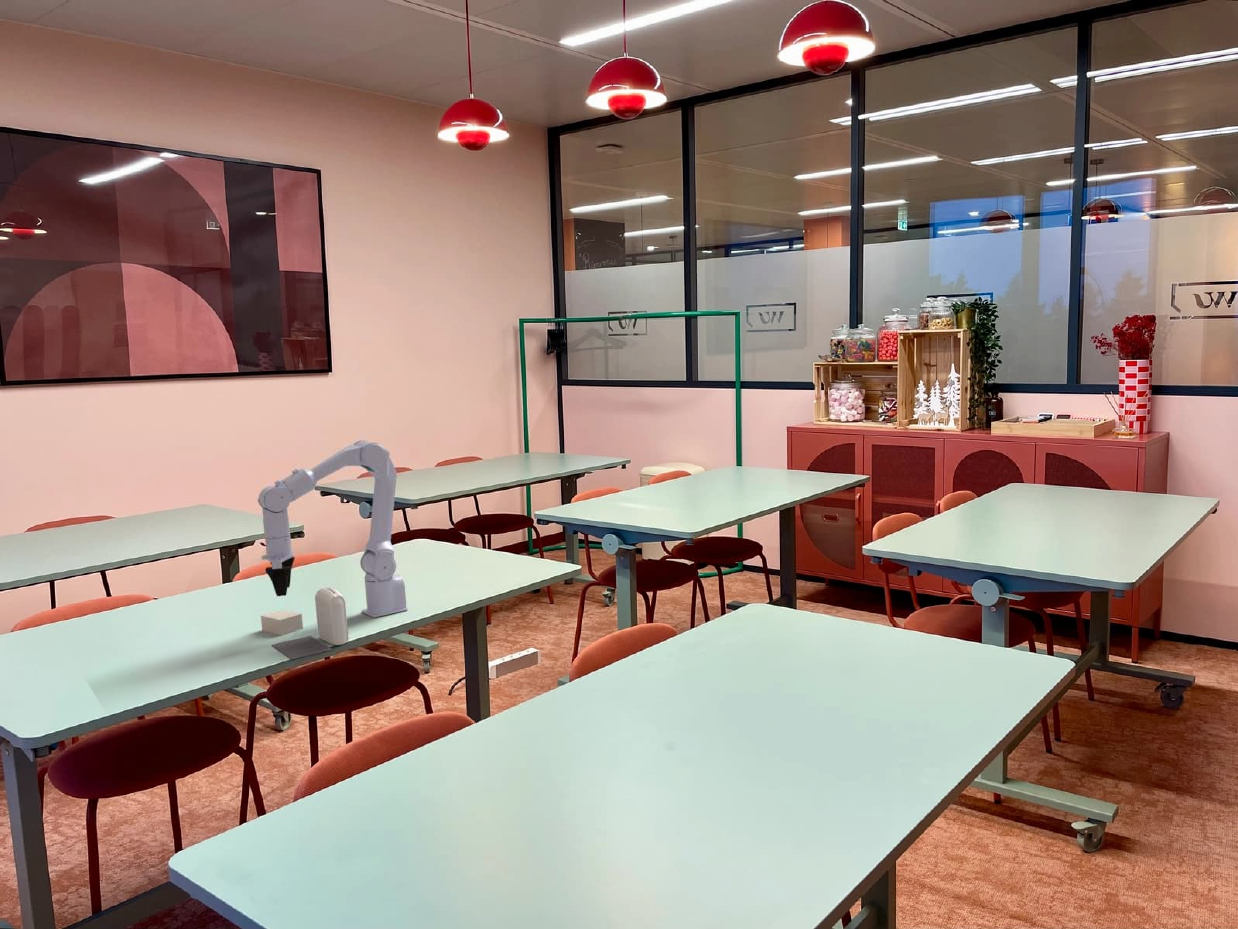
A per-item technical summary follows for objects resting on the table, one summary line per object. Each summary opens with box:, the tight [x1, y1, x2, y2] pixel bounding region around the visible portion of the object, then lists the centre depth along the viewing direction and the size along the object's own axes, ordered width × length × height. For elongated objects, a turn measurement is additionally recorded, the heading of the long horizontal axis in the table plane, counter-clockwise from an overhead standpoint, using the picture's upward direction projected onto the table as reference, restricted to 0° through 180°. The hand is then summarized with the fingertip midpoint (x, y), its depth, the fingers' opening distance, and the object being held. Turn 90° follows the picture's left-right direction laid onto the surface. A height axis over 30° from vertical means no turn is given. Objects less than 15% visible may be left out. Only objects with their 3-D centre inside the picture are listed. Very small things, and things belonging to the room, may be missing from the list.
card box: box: [260, 609, 304, 636], centre depth 224 cm, size 6×8×4 cm
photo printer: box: [314, 587, 349, 646], centre depth 213 cm, size 10×4×12 cm, turn 39°
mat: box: [271, 635, 333, 661], centre depth 209 cm, size 9×14×1 cm, turn 38°
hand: (283, 591), depth 221 cm, fingers open, 7 cm apart
